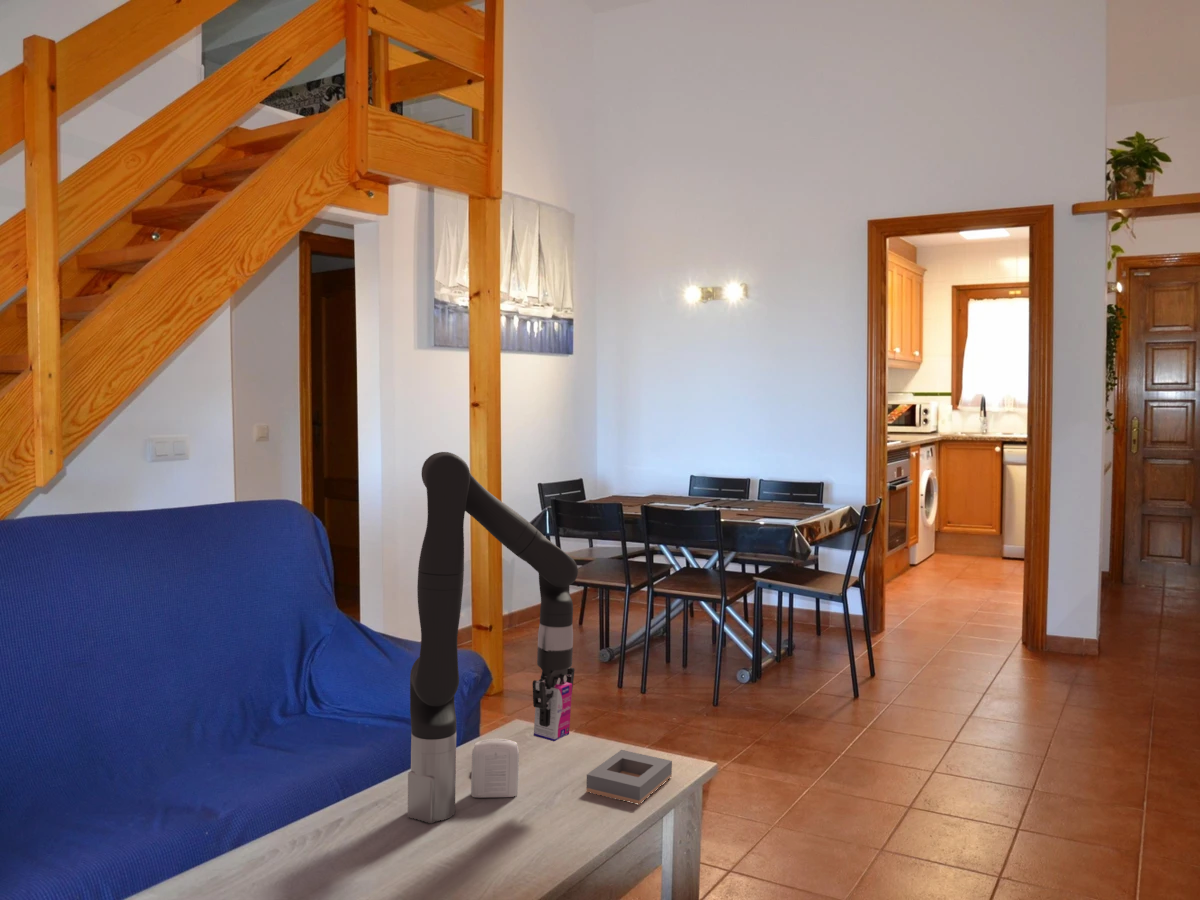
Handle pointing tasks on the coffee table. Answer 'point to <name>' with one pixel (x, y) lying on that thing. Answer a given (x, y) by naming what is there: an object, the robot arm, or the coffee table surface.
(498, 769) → the photo printer
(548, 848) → the coffee table surface
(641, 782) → the plate
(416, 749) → the robot arm
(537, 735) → the supplement box
